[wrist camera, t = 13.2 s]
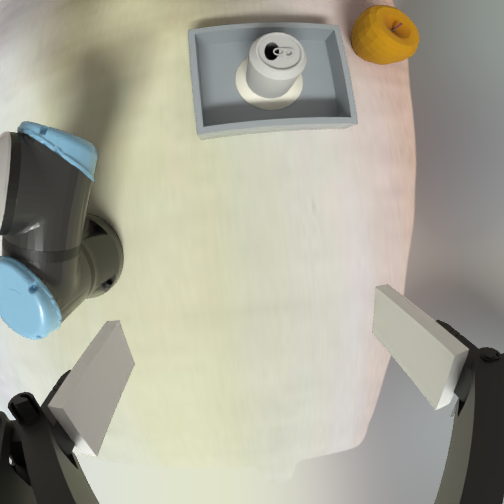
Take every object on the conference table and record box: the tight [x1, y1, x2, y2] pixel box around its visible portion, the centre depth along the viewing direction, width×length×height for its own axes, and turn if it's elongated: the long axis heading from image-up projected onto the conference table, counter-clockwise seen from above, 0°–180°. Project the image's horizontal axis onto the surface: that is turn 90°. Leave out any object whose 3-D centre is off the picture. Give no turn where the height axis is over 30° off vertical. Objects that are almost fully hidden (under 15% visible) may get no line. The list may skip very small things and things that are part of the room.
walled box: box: [188, 22, 358, 140], centre depth 38 cm, size 24×18×6 cm
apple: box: [351, 5, 420, 65], centre depth 34 cm, size 11×11×13 cm
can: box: [246, 32, 307, 99], centre depth 34 cm, size 8×8×12 cm
